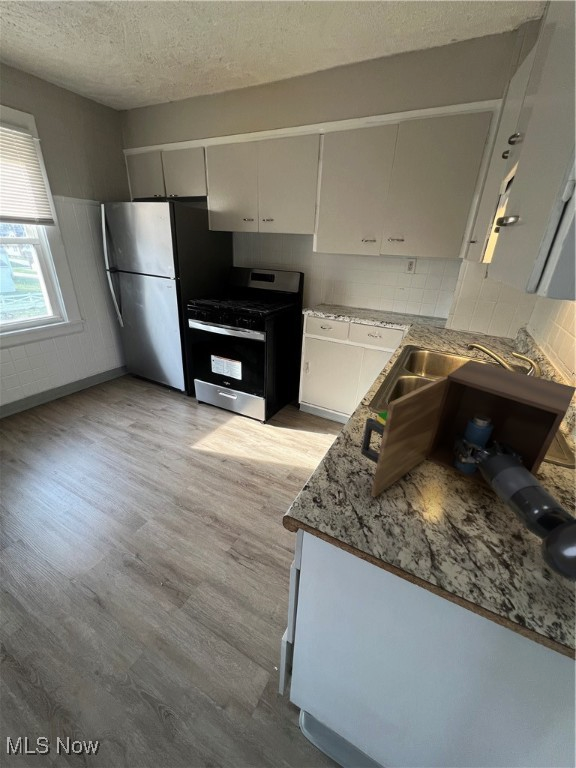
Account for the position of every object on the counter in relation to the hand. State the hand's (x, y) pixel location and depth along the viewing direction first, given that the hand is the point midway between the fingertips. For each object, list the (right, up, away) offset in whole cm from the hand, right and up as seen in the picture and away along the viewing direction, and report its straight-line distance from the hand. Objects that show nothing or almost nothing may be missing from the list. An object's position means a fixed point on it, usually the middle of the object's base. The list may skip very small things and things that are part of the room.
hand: (469, 434), depth 78 cm
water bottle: (0, -8, +1) cm, 8 cm away
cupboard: (+5, -8, +4) cm, 10 cm away
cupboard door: (-20, -9, 0) cm, 22 cm away
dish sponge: (-11, -1, +18) cm, 21 cm away
